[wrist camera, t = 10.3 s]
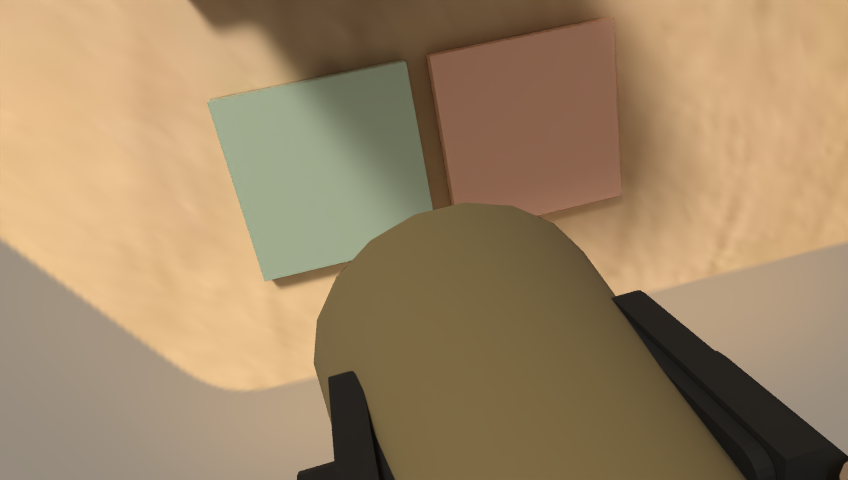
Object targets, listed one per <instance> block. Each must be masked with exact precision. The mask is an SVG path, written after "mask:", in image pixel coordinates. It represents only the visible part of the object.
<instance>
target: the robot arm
mask: <svg viewBox="0 0 848 480" xmlns="http://www.w3.org/2000/svg"><path fill="white" fill-rule="evenodd" d="M611 299H612V300H613V301H614V303H615V304H616V305H617V306H618V308H619V309H620V310H621V312H622V313H623V314H624V315H625V317H626V318H627V320H628V321H629V322H630V324H631V325H632V327H633V328H634V330H635V331H636V333H637V334H638V336H639V337H640V338H641V340H642V341H643V343H644V344H645V346H646V347H647V349H648V350H649V351H650V353H651V354H652V356H653V357H654V359H655V360H656V362H657V363H658V364H659V366H660V367H661V369H662V370H663V371H664V373H665V374H666V375H667V376H668V378H669V379H670V380H671V382H672V383H673V384H674V386H675V387H676V388H677V389H678V391H679V392H680V393H681V395H682V396H683V397H684V399H685V400H686V401H687V402H688V404H689V405H690V406H691V408H692V409H693V410H694V412H695V413H696V414H697V415H698V417H699V418H700V419H701V421H702V422H703V423H704V425H705V426H706V427H707V428H708V430H709V431H710V432H711V434H712V435H713V436H714V438H715V439H716V440H717V442H718V443H719V444H720V445H721V447H722V448H723V449H724V451H725V452H726V453H727V455H728V456H729V457H730V458H731V460H732V461H733V462H734V464H735V465H736V466H737V468H738V469H739V470H740V471H741V473H742V474H743V475H744V477H745V478H746V479H747V480H848V456H847V455H846V454H845V453H843V452H842V451H841V450H840V449H838V448H837V447H836V446H835V445H834V444H832V443H831V442H830V441H829V440H827V439H826V438H825V437H824V436H823V435H821V434H820V433H819V432H818V431H816V430H815V429H814V428H813V427H812V426H810V425H809V424H808V423H807V422H805V421H804V420H803V419H802V418H800V417H799V416H798V415H797V414H796V413H794V412H793V411H792V410H791V409H790V408H788V407H787V406H786V405H785V404H783V403H782V402H781V401H780V400H779V399H777V398H776V397H775V396H773V395H772V394H771V393H770V392H769V391H767V390H766V389H765V388H764V387H762V386H761V385H760V384H759V383H758V382H756V381H755V380H754V379H753V378H752V377H750V376H749V375H748V374H747V373H745V372H744V371H743V370H742V369H741V368H739V367H738V366H737V365H736V364H734V363H733V362H732V361H731V360H730V359H728V358H727V357H726V356H724V355H723V354H721V353H720V352H718V351H714V350H713V349H712V348H711V347H710V346H708V345H707V344H706V343H705V342H703V341H702V340H701V339H700V338H699V337H697V336H696V335H695V334H694V333H693V332H691V331H690V330H689V329H688V328H687V327H685V326H684V325H683V324H682V323H680V322H679V321H678V320H676V318H674V317H673V316H672V315H671V314H670V313H668V312H667V311H666V310H665V309H664V308H662V307H661V306H660V305H659V304H657V303H656V302H655V301H654V300H653V299H651V298H650V297H649V296H648V295H647V294H645V293H644V292H642V291H641V290H637V291H633V292H630V293H626V294H623V295H619V296H615V297H612V298H611ZM328 386H329V398H330V411H331V423H332V436H333V447H334V459H335V460H334V461H333V462H330V463H327V464H323V465H320V466H316V467H313V468H310V469H306V470H303V471H300V472H299V473H298V475H297V480H395V478H394V476H393V474H392V472H391V469H390V467H389V465H388V463H387V460H386V458H385V456H384V454H383V451H382V449H381V447H380V445H379V442H378V440H377V438H376V436H375V433H374V431H373V429H372V427H371V424H370V420H369V415H368V410H367V404H366V399H365V394H364V390H363V388H362V386H361V384H360V382H359V380H358V378H357V375H356V374H355V372H354V371H348V372H344V373H340V374H337V375H333V376H330V377H328Z"/></svg>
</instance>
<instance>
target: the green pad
mask: <svg viewBox="0 0 848 480" xmlns="http://www.w3.org/2000/svg"><path fill="white" fill-rule="evenodd" d="M207 104H208V107H209V110H210V113H211V116H212V119H213V122H214V125H215V128H216V131H217V135H218V138H219V141H220V144H221V147H222V150H223V153H224V156H225V159H226V163H227V166H228V169H229V172H230V175H231V178H232V181H233V184H234V187H235V191H236V194H237V197H238V200H239V203H240V206H241V209H242V212H243V215H244V218H245V222H246V225H247V228H248V231H249V234H250V237H251V240H252V243H253V246H254V250H255V253H256V256H257V259H258V262H259V265H260V268H261V271H262V274H263V278H264V281H268V280H273V279H277V278H281V277H285V276H289V275H293V274H297V273H302V272H306V271H310V270H314V269H318V268H322V267H326V266H331V265H335V264H339V263H343V262H347V261H351V260H353V259H354V258H355V257H356V255H357V254H358V253H359V252H360V251H361V250H362V249H363V248H364V247H365V246H366V245H367V243H368V242H369V241H370V240H372V239H374V238H375V237H377V236H379V235H380V234H382V233H384V232H386V231H387V230H389V229H391V228H392V227H394V226H396V225H398V224H399V223H401V222H403V221H404V220H406V219H408V218H409V217H411V216H413V215H415V214H418V213H423V212H427V211H431V210H433V207H432V201H431V196H430V190H429V185H428V180H427V174H426V169H425V163H424V158H423V152H422V147H421V141H420V136H419V130H418V125H417V119H416V114H415V108H414V103H413V97H412V92H411V86H410V81H409V75H408V70H407V64H406V61H405V60H398V61H393V62H389V63H384V64H379V65H374V66H369V67H365V68H360V69H355V70H350V71H345V72H340V73H336V74H331V75H326V76H321V77H316V78H311V79H307V80H302V81H297V82H292V83H287V84H282V85H278V86H273V87H268V88H263V89H258V90H253V91H249V92H244V93H239V94H234V95H229V96H225V97H220V98H215V99H210V100H209V101H208V102H207Z"/></svg>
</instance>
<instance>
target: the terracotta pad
mask: <svg viewBox="0 0 848 480" xmlns="http://www.w3.org/2000/svg"><path fill="white" fill-rule="evenodd" d="M426 57H427V63H428V69H429V75H430V81H431V87H432V93H433V99H434V105H435V110H436V116H437V122H438V128H439V134H440V140H441V146H442V152H443V158H444V164H445V170H446V176H447V182H448V188H449V194H450V200H451V206H452V205H456V204H460V203H464V202H465V203H480V204H494V205H509V206H514V207H517V208H519V209H521V210H524V211H526V212H528V213H531V214H533V215H535V216H538V215H542V214H546V213H551V212H555V211H559V210H563V209H567V208H571V207H575V206H580V205H584V204H588V203H592V202H596V201H600V200H604V199H609V198H613V197H617V196H621V195H622V192H621V170H620V147H619V125H618V102H617V80H616V57H615V34H614V18H601V19H596V20H591V21H587V22H582V23H577V24H572V25H567V26H562V27H558V28H553V29H548V30H543V31H538V32H533V33H529V34H524V35H519V36H514V37H509V38H504V39H500V40H495V41H490V42H485V43H480V44H476V45H471V46H466V47H461V48H456V49H451V50H447V51H442V52H437V53H432V54H427V55H426Z"/></svg>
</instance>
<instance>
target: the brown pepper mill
mask: <svg viewBox="0 0 848 480" xmlns="http://www.w3.org/2000/svg"><path fill="white" fill-rule="evenodd" d="M612 297H615V294H614V293H613V292H612V290H611V289H610V288H609V286H608V285H607V283H606V282H605V281H604V279H603V278H602V277H601V275H600V274H599V273H598V271H597V270H596V268H595V267H594V266H593V264H592V263H591V262H590V260H589V259H588V258H587V256H586V255H585V253H584V252H583V251H582V250H581V249H580V248H579V247H578V246H577V245H576V244H575V243H574V242H573V241H572V240H570V239H569V238H568V237H567V236H566V235H565V234H564V233H563V232H562V231H561V230H560V229H559V228H558V227H557V226H556V225H555V224H554V223H552V222H549V221H547V220H545V219H542V218H540V217H538V216H535V215H533V214H531V213H528V212H526V211H524V210H521V209H519V208H517V207H514V206H509V205H494V204H480V203H465V202H464V203H460V204H456V205H452V206H447V207H443V208H439V209H435V210H431V211H427V212H423V213H418V214H415V215H413V216H411V217H409V218H408V219H406V220H404V221H403V222H401V223H399V224H398V225H396V226H394V227H392V228H391V229H389V230H387V231H386V232H384V233H382V234H380V235H379V236H377V237H375V238H374V239H372V240H370V241H369V242H368V243H367V245H366V246H365V247H364V248H363V249H362V250H361V251H360V252H359V253H358V254H357V255H356V257H355V258H354V259H353V260H352V261H351V262H350V263H349V264H348V265H347V266H346V267H345V269H344V270H343V271H342V272H341V273H340V274H339V275H338V276H337V277H336V279H335V282H334V284H333V286H332V288H331V290H330V293H329V295H328V297H327V299H326V301H325V304H324V306H323V308H322V310H321V313H320V315H319V317H318V319H317V328H316V341H315V354H314V366H315V369H316V373H317V376H318V379H319V383H320V386H321V390H322V393H323V397H324V400H325V404H326V407H327V411H328V414H329V417H330V421H331V411H330V398H329V386H328V377H330V376H333V375H337V374H340V373H344V372H348V371H354V372H355V374H356V375H357V378H358V380H359V382H360V384H361V386H362V388H363V390H364V394H365V399H366V404H367V410H368V415H369V420H370V424H371V427H372V429H373V431H374V433H375V436H376V438H377V440H378V442H379V445H380V447H381V449H382V451H383V454H384V456H385V458H386V460H387V463H388V465H389V467H390V469H391V472H392V474H393V476H394V478H395V480H747V479H746V478H745V477H744V475H743V474H742V473H741V471H740V470H739V469H738V468H737V466H736V465H735V464H734V462H733V461H732V460H731V458H730V457H729V456H728V455H727V453H726V452H725V451H724V449H723V448H722V447H721V445H720V444H719V443H718V442H717V440H716V439H715V438H714V436H713V435H712V434H711V432H710V431H709V430H708V428H707V427H706V426H705V425H704V423H703V422H702V421H701V419H700V418H699V417H698V415H697V414H696V413H695V412H694V410H693V409H692V408H691V406H690V405H689V404H688V402H687V401H686V400H685V399H684V397H683V396H682V395H681V393H680V392H679V391H678V389H677V388H676V387H675V386H674V384H673V383H672V382H671V380H670V379H669V378H668V376H667V375H666V374H665V373H664V371H663V370H662V369H661V367H660V366H659V364H658V363H657V362H656V360H655V359H654V357H653V356H652V354H651V353H650V351H649V350H648V349H647V347H646V346H645V344H644V343H643V341H642V340H641V338H640V337H639V336H638V334H637V333H636V331H635V330H634V328H633V327H632V325H631V324H630V322H629V321H628V320H627V318H626V317H625V315H624V314H623V313H622V312H621V310H620V309H619V308H618V306H617V305H616V304H615V303H614V301H613V300H612V299H611V298H612ZM331 424H332V423H331Z"/></svg>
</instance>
